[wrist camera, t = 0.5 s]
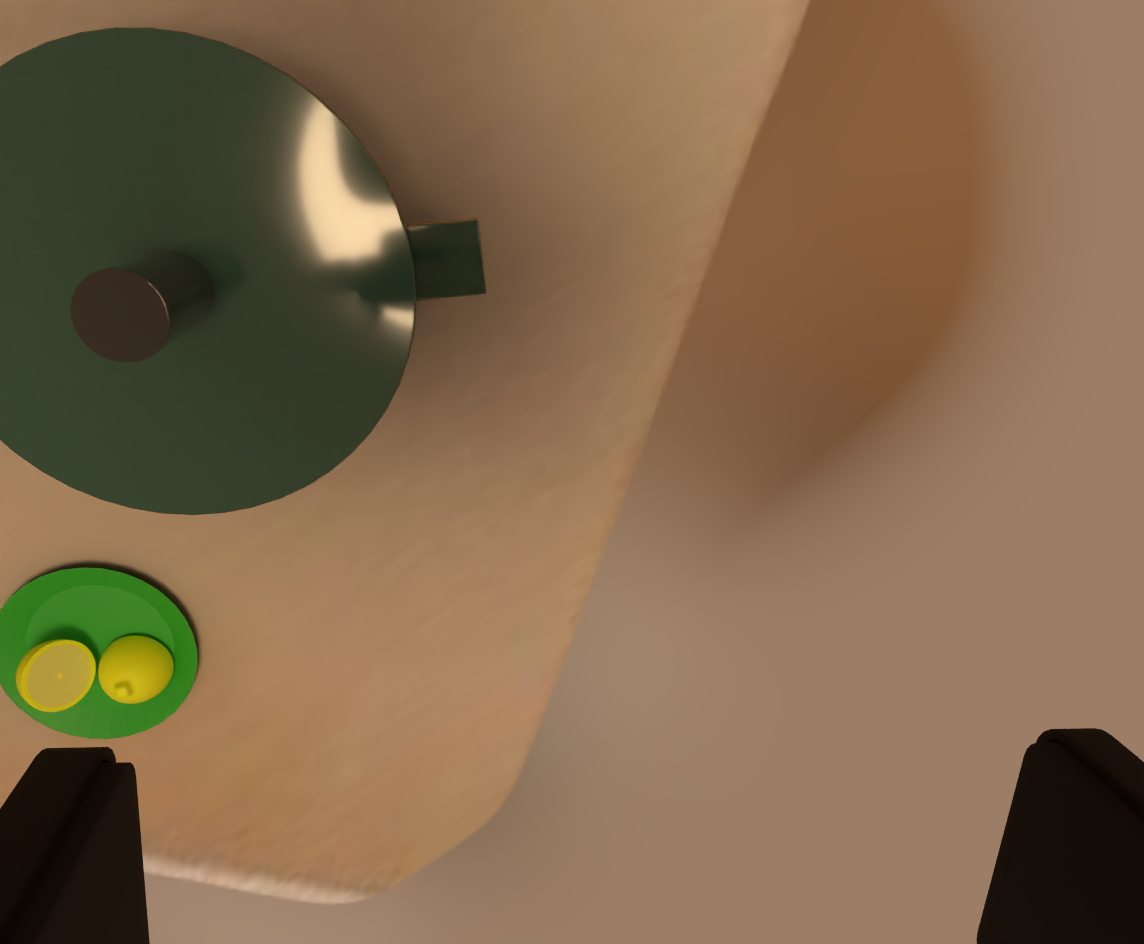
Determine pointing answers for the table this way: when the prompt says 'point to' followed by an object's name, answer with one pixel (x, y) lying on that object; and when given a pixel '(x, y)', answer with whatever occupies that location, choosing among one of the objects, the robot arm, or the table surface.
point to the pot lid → (190, 274)
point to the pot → (447, 258)
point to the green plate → (95, 653)
